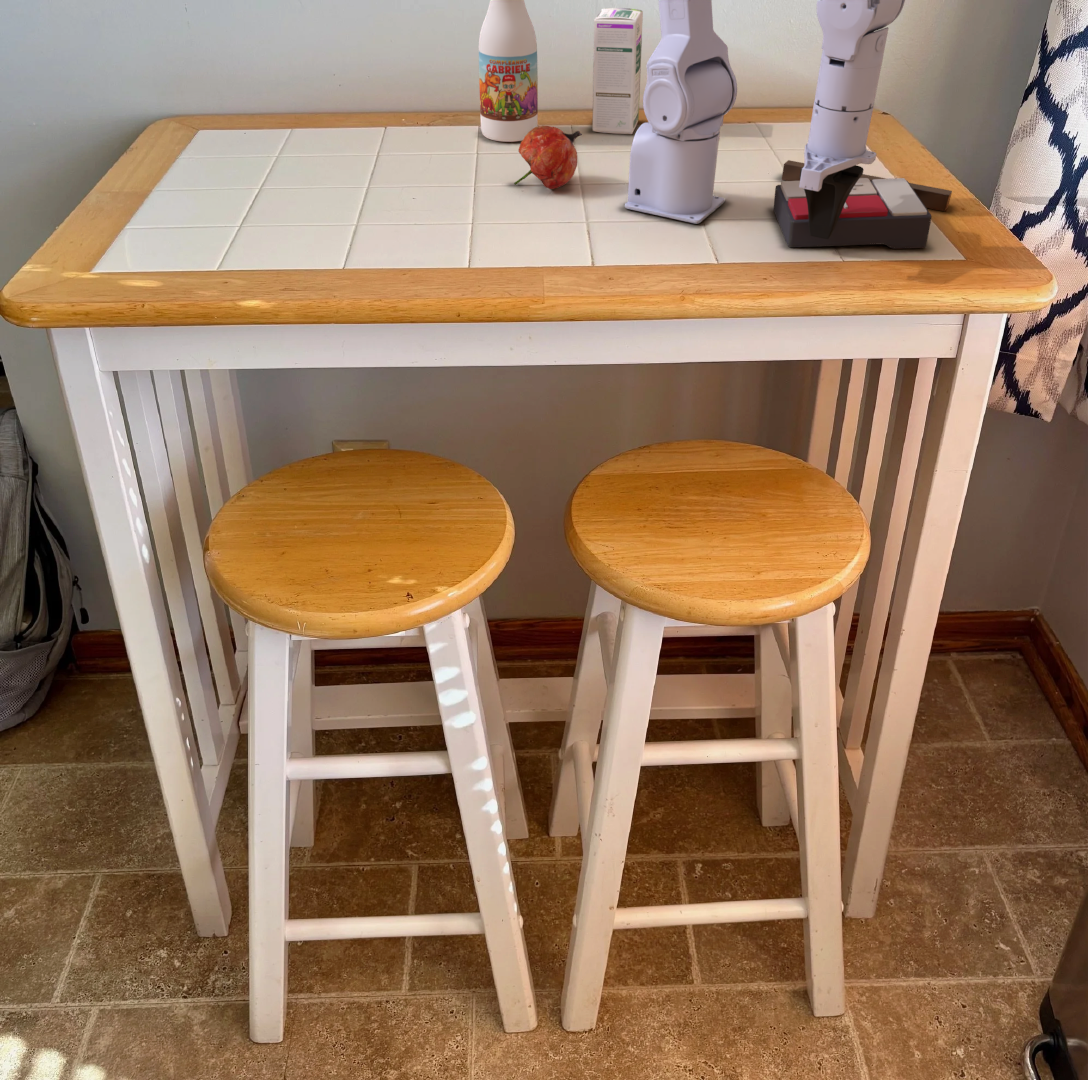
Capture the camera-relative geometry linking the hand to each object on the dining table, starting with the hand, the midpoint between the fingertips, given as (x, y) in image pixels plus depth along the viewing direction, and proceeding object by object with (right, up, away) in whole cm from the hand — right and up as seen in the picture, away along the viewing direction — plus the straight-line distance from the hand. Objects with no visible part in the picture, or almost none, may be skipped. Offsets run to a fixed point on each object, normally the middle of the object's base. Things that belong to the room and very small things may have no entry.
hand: (820, 236), depth 111 cm
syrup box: (-20, +25, +34) cm, 46 cm away
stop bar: (+9, +9, +15) cm, 20 cm away
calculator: (+5, +3, +6) cm, 8 cm away
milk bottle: (-34, +23, +31) cm, 52 cm away
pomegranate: (-29, +11, +16) cm, 35 cm away
